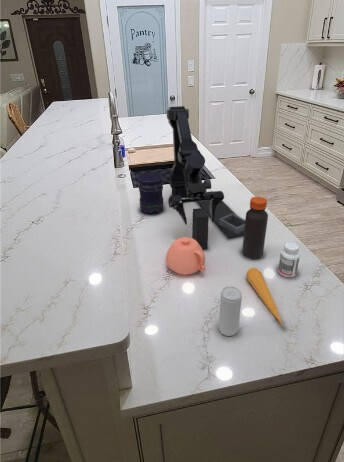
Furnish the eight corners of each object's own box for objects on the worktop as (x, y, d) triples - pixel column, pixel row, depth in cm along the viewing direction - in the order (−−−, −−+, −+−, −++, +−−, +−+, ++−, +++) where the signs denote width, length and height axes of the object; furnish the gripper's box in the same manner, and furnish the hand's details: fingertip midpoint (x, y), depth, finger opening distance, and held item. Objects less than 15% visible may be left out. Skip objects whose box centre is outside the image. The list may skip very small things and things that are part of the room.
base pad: (191, 196, 148) (192, 189, 147) (212, 193, 151) (212, 186, 149) (228, 239, 117) (229, 230, 115) (253, 234, 120) (254, 225, 118)
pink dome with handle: (184, 250, 112) (184, 224, 107) (217, 268, 103) (218, 241, 98) (158, 266, 104) (156, 239, 99) (190, 287, 95) (190, 259, 90)
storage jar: (136, 213, 135) (133, 179, 128) (146, 202, 143) (144, 170, 136) (157, 217, 132) (156, 183, 125) (167, 206, 140) (166, 174, 133)
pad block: (196, 250, 111) (196, 217, 105) (192, 241, 116) (192, 208, 110) (207, 249, 112) (208, 216, 106) (203, 239, 117) (204, 207, 111)
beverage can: (216, 322, 83) (219, 286, 78) (235, 321, 84) (238, 285, 78) (220, 338, 79) (223, 301, 74) (240, 336, 80) (244, 299, 74)
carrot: (246, 278, 99) (242, 269, 97) (260, 272, 99) (256, 262, 96) (276, 335, 83) (273, 325, 80) (293, 328, 83) (290, 318, 80)
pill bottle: (287, 264, 104) (292, 239, 99) (300, 274, 99) (305, 248, 95) (274, 269, 102) (278, 243, 97) (286, 280, 97) (291, 253, 93)
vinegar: (264, 250, 111) (272, 197, 101) (260, 261, 105) (267, 206, 96) (244, 245, 113) (250, 193, 104) (239, 256, 108) (245, 202, 98)
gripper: (168, 173, 106) (175, 219, 102) (224, 168, 109) (232, 213, 105) (165, 185, 117) (171, 228, 112) (216, 181, 120) (223, 222, 115)
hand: (199, 223), depth 111 cm, fingers open, 9 cm apart
